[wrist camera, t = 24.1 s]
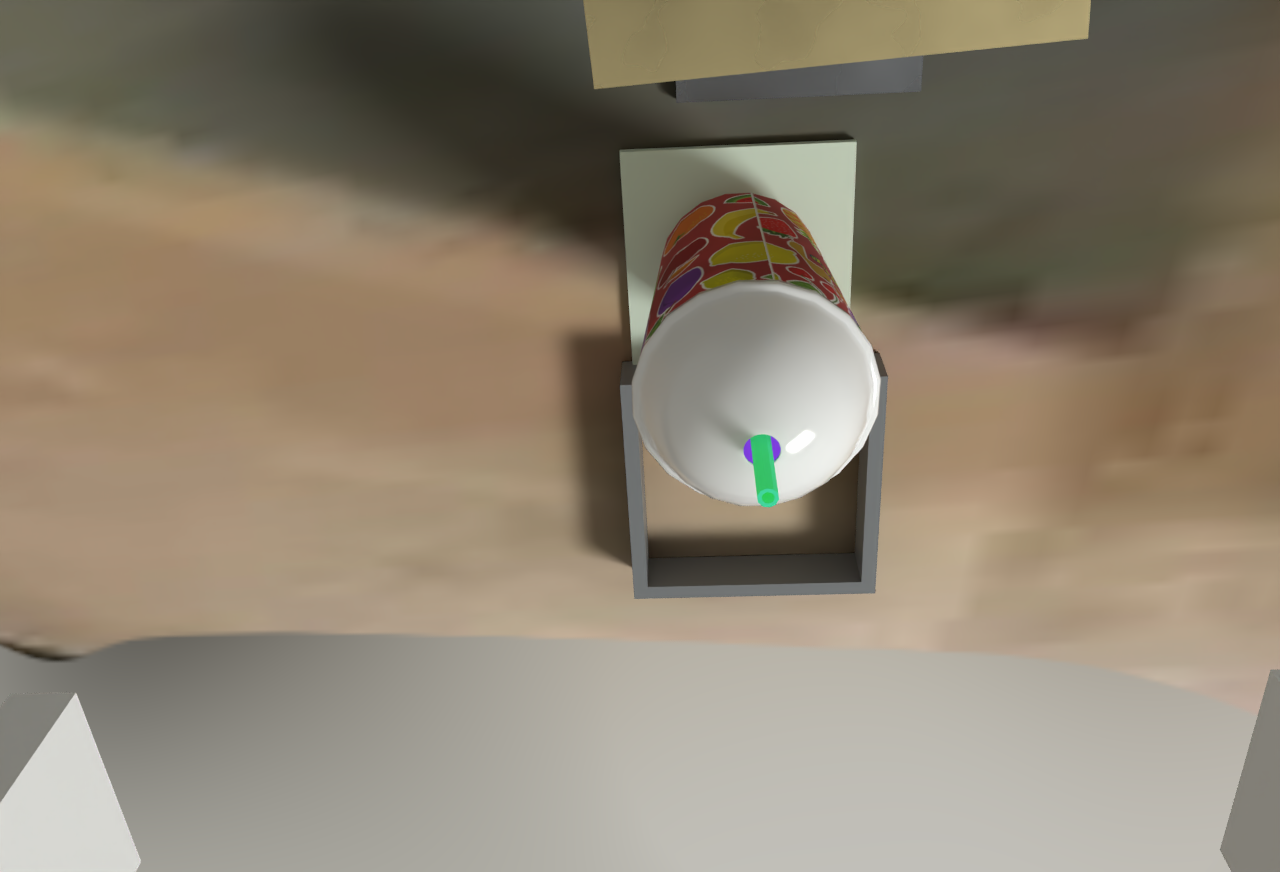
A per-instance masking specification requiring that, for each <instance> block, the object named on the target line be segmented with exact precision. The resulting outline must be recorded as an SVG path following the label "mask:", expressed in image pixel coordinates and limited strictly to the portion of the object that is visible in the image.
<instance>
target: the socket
mask: <svg viewBox="0 0 1280 872" xmlns="http://www.w3.org/2000/svg"><path fill="white" fill-rule="evenodd" d="M874 356H875V359H876V363H877V367H878V370H879V374H880V378H881V386H880V398H879V410H878V416H877V418H876V420H875V422H874V425H873V427H872V429H871V431H870V433H869V435H868V438H867V440H866V442H865V444H864V446H863V448H862V449H861V450H860V451H859V471H858V492H857V513H856V534H855V553H838V554H798V555H758V556H718V557H678V558H649V551H648V534H647V518H646V501H645V484H644V467H643V450H642V438H641V435H640V433H639V430H638V428H637V425H636V423H635V420H634V418H633V404H632V379H633V376H634V373H635V370H636V367H637V365H633V363H632V361H627V362H622V370H621V379H620V395H621V409H622V424H623V438H624V453H625V468H626V482H627V497H628V511H629V526H630V541H631V555H632V570H633V584H634V599H646V598H689V597H733V596H776V595H819V594H863V593H875V585H876V568H877V551H878V534H879V517H880V501H881V484H882V467H883V450H884V434H885V417H886V400H887V383H888V375H887V373H886V370H885V367H884V364H883V362H882V359H881V356H880V353H874Z"/></svg>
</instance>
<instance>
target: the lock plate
mask: <svg viewBox="0 0 1280 872" xmlns="http://www.w3.org/2000/svg"><path fill="white" fill-rule="evenodd" d="M922 66H923V55H921V56H912V57H902V58H892V59H883V60H873V61H863V62H853V63H844V64H834V65H824V66H815V67H805V68H795V69H785V70H776V71H766V72H756V73H747V74H737V75H727V76H718V77H708V78H698V79H688V80H679V81H676V102H677V103H681V102H702V101H724V100H745V99H767V98H788V97H810V96H831V95H853V94H874V93H896V92H917V91H921V82H922Z"/></svg>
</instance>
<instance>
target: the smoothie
mask: <svg viewBox="0 0 1280 872" xmlns="http://www.w3.org/2000/svg"><path fill="white" fill-rule="evenodd" d="M880 386H881V378H880V374H879V370H878V367H877V363H876V359H875V356H874V352H873V348H872V345H871V344H870V342H869V341H868V340H867V338H866V337H865V336H864V334H863V333H862V331H861V329H860V327H859V325H858V323H857V321H856V319H855V318H854V316H853V314H852V312H851V310H850V308H849V306H848V304H847V302H846V300H845V298H844V296H843V295H842V293H841V291H840V289H839V287H838V285H837V283H836V281H835V279H834V277H833V275H832V273H831V272H830V270H829V268H828V266H827V264H826V262H825V260H824V258H823V256H822V254H821V252H820V250H819V249H818V247H817V245H816V243H815V241H814V239H813V237H812V235H811V233H810V231H809V230H808V229H807V227H806V226H805V225H804V223H803V222H802V221H801V219H800V218H799V217H798V215H797V214H796V213H795V212H793V211H792V210H790V209H789V208H787V207H786V206H784V205H783V204H781V203H780V202H778V201H777V200H775V199H772V198H768V197H764V196H761V195H757V194H753V193H735V194H724V195H721V196H718V197H715V198H713V199H710V200H707V201H704V202H702V203H700V204H699V205H697V206H696V207H695V208H693V209H692V210H691V211H690V212H688V213H687V214H686V215H685V216H683V217H682V218H681V219H680V220H679V222H678V223H677V225H676V226H675V228H674V229H673V231H672V232H671V233H670V235H669V236H668V238H667V241H666V244H665V248H664V251H663V255H662V258H661V263H660V268H659V272H658V277H657V281H656V286H655V290H654V295H653V300H652V304H651V309H650V313H649V318H648V322H647V327H646V331H645V336H644V340H643V345H642V349H641V354H640V358H639V361H638V364H637V367H636V370H635V373H634V376H633V379H632V404H633V418H634V420H635V423H636V425H637V428H638V430H639V433H640V435H641V438H642V441H643V443H644V446H645V448H646V449H647V450H648V452H649V453H650V454H651V455H652V456H653V457H654V458H655V460H656V461H657V462H658V463H659V464H660V465H661V466H662V468H663V469H664V470H665V471H666V472H667V473H668V474H669V475H670V476H672V477H673V478H675V479H677V480H678V481H680V482H682V483H683V484H685V485H686V486H688V487H690V488H691V489H693V490H695V491H696V492H698V493H700V494H704V495H706V496H708V497H710V498H712V499H716V500H720V501H723V502H727V503H731V504H735V505H738V506H763V507H772V506H774V505H777V504H780V503H784V502H787V501H791V500H794V499H798V498H801V497H803V496H805V495H806V494H808V493H810V492H811V491H813V490H815V489H817V488H818V487H820V486H822V485H823V484H825V483H827V482H828V481H829V480H830V479H831V478H832V477H834V476H836V475H837V474H839V473H840V472H841V471H842V470H843V468H844V467H845V466H846V465H847V464H848V463H849V462H850V461H851V460H852V459H853V457H854V456H855V455H856V454H857V453H858V452H859V451H860V450H861V449H862V448H863V446H864V444H865V442H866V440H867V438H868V435H869V433H870V431H871V429H872V427H873V425H874V422H875V420H876V418H877V416H878V410H879V398H880Z"/></svg>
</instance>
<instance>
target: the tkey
mask: <svg viewBox="0 0 1280 872" xmlns="http://www.w3.org/2000/svg"><path fill="white" fill-rule="evenodd" d="M583 1H584V10H585V18H586V26H587V34H588V42H589V50H590V58H591V66H592V74H593V83H594V89H601V88H611V87H620V86H630V85H640V84H650V83H659V82H669V81H679V80H688V79H698V78H708V77H718V76H727V75H737V74H747V73H756V72H766V71H776V70H785V69H795V68H805V67H815V66H824V65H834V64H844V63H853V62H863V61H873V60H883V59H892V58H902V57H912V56H921V55H931V54H941V53H951V52H960V51H970V50H980V49H989V48H999V47H1009V46H1019V45H1028V44H1038V43H1048V42H1057V41H1067V40H1077V39H1087V38H1088V29H1089V17H1090V4H1091V0H583Z"/></svg>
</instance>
